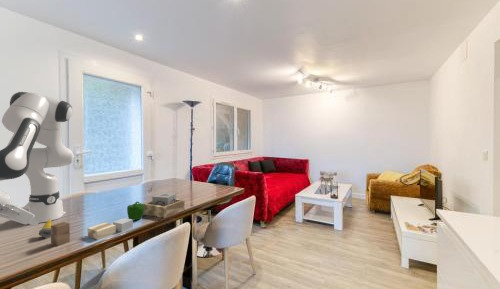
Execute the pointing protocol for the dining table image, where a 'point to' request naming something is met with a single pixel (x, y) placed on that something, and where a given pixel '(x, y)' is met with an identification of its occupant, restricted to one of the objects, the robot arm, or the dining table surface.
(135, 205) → the bell pepper
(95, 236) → the maple block
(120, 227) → the grey painted block
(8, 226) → the dining table surface
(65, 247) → the dining table surface
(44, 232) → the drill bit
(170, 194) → the icon cube
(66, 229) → the walnut block
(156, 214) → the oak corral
